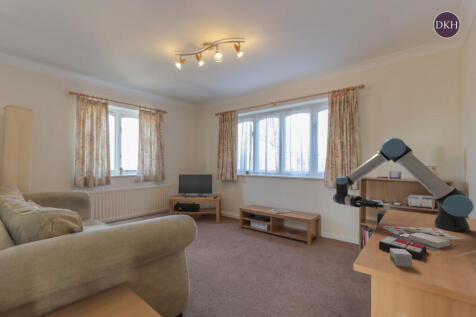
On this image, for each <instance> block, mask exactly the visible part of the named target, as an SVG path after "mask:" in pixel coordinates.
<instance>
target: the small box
mask: <svg viewBox="0 0 476 317" xmlns="http://www.w3.org/2000/svg"><path fill="white" fill-rule="evenodd" d="M389 260H390V261H391V262H392V263H393V265H394V266H396V267H403V268H404V267H405V268H413V258H412V255H411V254H410V253H409V252H407V251H406V250H405V249H395V248H390V252H389Z"/></svg>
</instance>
